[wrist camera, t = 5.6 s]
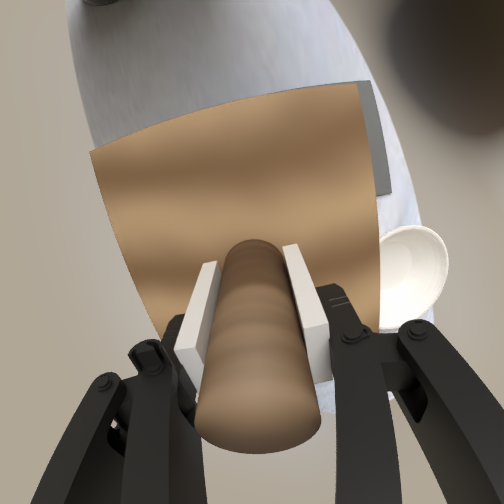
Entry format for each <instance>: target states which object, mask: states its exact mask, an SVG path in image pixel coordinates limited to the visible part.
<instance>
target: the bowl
mask: <svg viewBox="0 0 504 504" xmlns="http://www.w3.org/2000/svg"><path fill="white" fill-rule="evenodd" d="M379 244H380V322H379V329H382V330H390V329H396V328H400V327H401V325H402V324H404V323H405V322H407V321H409V320H414V319H418V318H420V317H421V316H422V315H423V314H425V313H426V312H427V311H428V310H429V309H430V307H431V306H432V305H433V304H434V303H435V301H436V300H437V298H438V297H439V295H440V293H441V291H442V289H443V287H444V285H445V282H446V279H447V274H448V267H449V258H448V253H447V249H446V246H445V244H444V242H443V240H442V239H441V238H440V236H439V235H438V234H437V233H435V232H434V231H433V230H431V229H429V228H426V227H424V226H417V225H408V226H401V227H397V228H395V229H392V230H389V231H388V232H386V233H384V234H383V235H381V236H380V237H379Z"/></svg>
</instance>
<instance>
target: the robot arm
mask: <svg viewBox="0 0 504 504" xmlns="http://www.w3.org/2000/svg"><path fill="white" fill-rule="evenodd" d="M84 1H85V2H87V3H88V4H91V5H96V6H99V5H106V4H110V3H113V2H115V1H118V0H84ZM282 248H283V253H284V258H285V263H286V268H287V273H288V277H289V281H290V285H291V289H292V293H293V297H294V301H295V305H296V309H297V313H298V317H299V322H300V326H301V330H302V334H303V338H304V343H305V347H306V351H307V356H308V360H309V364H310V369H311V373H312V378H313V382H314V384H317V383H322V382H326V381H330V380H333V377H334V381H335V403H336V445H337V446H336V447H337V449H336V451H337V452H336V494H335V504H402V494H401V482H400V472H399V462H398V454H397V446H396V439H395V433H394V426H393V420H392V415H391V409H390V404H389V398H388V393H387V392H388V391H392V393H393V395H394V397H395V399H396V401H397V402H398V404H399V406H400V408H401V410H402V412H403V413H404V415H405V417H406V419H407V421H408V423H409V425H410V427H411V429H412V431H413V433H414V434H415V436H416V438H417V440H418V442H419V444H420V446H421V448H422V450H423V452H424V454H425V456H426V458H427V460H428V462H429V464H430V467H431V469H432V471H433V473H434V475H435V477H436V479H437V481H438V484H439V486H440V488H441V490H442V492H443V495H444V497H445V499H446V501H447V504H504V409H503V408H502V407H501V405H500V404H499V403H498V401H497V400H496V398H495V397H494V396H493V394H492V393H491V392H490V391H489V389H488V388H487V387H486V385H485V384H484V383H483V382H482V380H481V379H480V378H479V377H478V375H477V374H476V373H475V372H474V370H473V369H472V368H471V367H470V366H469V364H468V363H467V362H466V361H465V360H464V358H463V357H462V356H461V355H460V354H459V353H458V351H456V349H455V348H454V347H453V346H452V345H451V344H450V342H449V341H448V340H447V339H446V338H445V337H444V336H443V335H442V334H441V332H440V331H439V330H438V329H437V328H436V327H435V326H434V325H433V324H432V323H430V322H429V321H426V320H423V319H414V320H409V321H407V322H405V323H404V324H402V325H401V327H400V328H399V331H398V333H387V334H382V333H375V332H372V330H371V328H369V327H368V326H366V325H364V324H362V323H361V321H360V319H359V317H358V315H357V313H356V311H355V309H354V308H353V306H352V304H351V302H350V300H349V298H348V297H347V295H346V293H345V291H344V289H343V288H342V287H340V286H339V285H337V284H335V283H332V284H328V285H324V286H319V287H314V284H313V282H312V279H311V277H310V274H309V272H308V269H307V267H306V264H305V262H304V259H303V257H302V255H301V252H300V250H299V247H298V245H297V244H292V245H287V246H283V247H282ZM221 276H222V275H221V271H220V268H219V265H218V262H217V261H212V262H208V263H203V265H202V268H201V271H200V274H199V276H198V279H197V282H196V285H195V288H194V291H193V293H192V296H191V299H190V302H189V305H188V308H187V311H186V313H185V314H179V315H175V316H174V317H173V318H172V319H171V320H170V321H169V322H168V325H167V327H166V330H165V331H166V332H164V335H163V338H162V340H161V342H160V341H159V340H156V339H148V340H144V341H142V342H140V343H138V344H136V345H135V346H134V347H133V348H132V349H131V350H130V351H129V354H128V356H129V358H130V360H131V361H132V363H133V364H134V366H135V367H136V369H137V371H138V375H137V376H134V377H130V378H127V379H124V380H121V378H120V377H119V376H118V375H117V374H116V373H113V372H107V373H104V374H102V375H100V376H98V377H97V378H96V379H95V380H94V381H93V383H92V384H91V386H90V388H89V389H88V391H87V393H86V394H85V396H84V398H83V399H82V401H81V403H80V405H79V407H78V408H77V410H76V412H75V414H74V415H73V417H72V419H71V421H70V423H69V425H68V427H67V428H66V430H65V432H64V434H63V436H62V438H61V440H60V442H59V444H58V446H57V448H56V450H55V451H54V454H53V456H52V457H51V459H50V462H49V464H48V466H47V468H46V470H45V472H44V474H43V476H42V478H41V481H40V483H39V485H38V487H37V490H36V492H35V494H34V497H33V499H32V501H31V504H207V496H206V487H205V477H204V466H203V455H202V442H201V436H200V435H199V434H198V432H197V431H196V428H195V424H194V421H195V415H196V409H197V403H196V401H195V398H196V393H198V394H199V391H200V386H201V380H202V374H203V369H204V363H205V358H206V353H207V347H208V342H209V337H210V331H211V326H212V321H213V316H214V311H215V306H216V301H217V295H218V291H219V286H220V281H221ZM332 374H333V376H332ZM113 419H114V420H115V421H116V422H117V426H116V427H115V428H112V426H111V423H112V421H113Z"/></svg>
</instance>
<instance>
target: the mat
mask: <svg viewBox="0 0 504 504" xmlns="http://www.w3.org/2000/svg"><path fill="white" fill-rule="evenodd" d="M341 84H356V85H357V89H358V93H359V97H360V101H361V106H362V110H363V115H364V120H365V125H366V130H367V136H368V142H369V148H370V154H371V160H372V167H373V175H374V183H375V192H376V196H378V195H383V194H388V193H392V189H391V181H390V174H389V167H388V160H387V154H386V148H385V142H384V137H383V132H382V127H381V122H380V117H379V113H378V109H377V104H376V100H375V96H374V92H373V89H372V85H371V81H370V80H367V81H353V82H342V83H333V84H324V85H317V86H310V87H303V88H311V87H320V86H330V85H341ZM303 88H297V89H303ZM291 90H296V89H291ZM286 91H290V90H286ZM280 92H283V91H280ZM275 93H277V92H275ZM270 94H272V93H270Z"/></svg>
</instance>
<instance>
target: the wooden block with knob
mask: <svg viewBox="0 0 504 504" xmlns="http://www.w3.org/2000/svg"><path fill="white" fill-rule="evenodd" d="M90 156H91V160H92V164H93V167H94V171H95V175H96V178H97V182H98V185H99V188H100V191H101V195H102V198H103V201H104V204H105V207H106V210H107V213H108V216H109V219H110V222H111V225H112V228H113V231H114V233H115V236H116V239H117V242H118V244H119V247H120V250H121V252H122V255H123V257H124V260H125V262H126V265H127V267H128V269H129V272H130V275H131V277H132V279H133V281H134V284H135V286H136V289H137V291H138V293H139V295H140V297H141V300H142V302H143V304H144V306H145V308H146V310H147V313H148V315H149V317H150V319H151V321H152V323H153V325H154V327H155V329H156V331H157V333H158V335H159V337H160V338H161V340H162V338H163V335H164V332H166V331H165V330H166V327H167V325H168V322H169V321H170V320H171V319H172V318H173V317H174V316H175V315H179V314H185V313H186V311H187V308H188V305H189V302H190V299H191V296H192V293H193V291H194V288H195V285H196V282H197V279H198V276H199V274H200V271H201V268H202V265H203V263H208V262H212V261H217V262H218V265H219V268H220V271H221V275H222V276H221V281H220V286H219V291H218V295H217V301H216V306H215V311H214V316H213V321H212V326H211V331H210V337H209V342H208V347H207V353H206V358H205V363H204V369H203V374H202V380H201V386H200V391H199V397H198V403H197V409H196V415H195V421H194V424H195V428H196V431H197V432H198V434H199V435H200V436H201V437H202V438H203V439H205V440H206V441H207V442H209V443H211V444H212V445H215V446H217V447H219V448H222V449H225V450H229V451H233V452H238V453H246V454H266V453H274V452H279V451H283V450H287V449H290V448H293V447H296V446H298V445H300V444H302V443H304V442H306V441H307V440H309V439H310V438H311V437H312V436H313V435H315V434H316V432H317V431H318V430H319V428H320V425H321V415H320V410H319V405H318V401H317V396H316V391H315V387H314V382H313V378H312V373H311V369H310V364H309V360H308V356H307V351H306V347H305V343H304V338H303V334H302V330H301V326H300V322H299V317H298V313H297V309H296V305H295V301H294V297H293V293H292V289H291V285H290V281H289V277H288V273H287V268H286V263H285V258H284V253H283V248H282V247H283V246H287V245H292V244H297V245H298V247H299V250H300V252H301V255H302V257H303V259H304V262H305V264H306V267H307V269H308V272H309V274H310V277H311V279H312V282H313V284H314V287H319V286H324V285H328V284H332V283H335V284H337V285H339V286H340V287H342V288H343V289H344V291H345V293H346V295H347V297H348V298H349V300H350V302H351V304H352V306H353V308H354V309H355V311H356V313H357V315H358V317H359V319H360V321H361V323H362V324H364V325H366V326H368V327H369V328H371V330H372V332H375V333H379V322H380V244H379V226H378V213H377V202H376V192H375V183H374V175H373V167H372V160H371V154H370V148H369V142H368V136H367V130H366V125H365V120H364V115H363V110H362V106H361V101H360V97H359V93H358V89H357V85H356V84H341V85H330V86H320V87H311V88H303V89H296V90H290V91H283V92H277V93H272V94H266V95H261V96H256V97H251V98H246V99H242V100H238V101H233V102H229V103H225V104H221V105H217V106H213V107H210V108H206V109H202V110H199V111H196V112H192V113H189V114H186V115H182V116H179V117H176V118H173V119H170V120H167V121H164V122H161V123H158V124H156V125H153V126H150V127H147V128H145V129H142V130H139V131H137V132H134V133H132V134H129V135H127V136H124V137H122V138H120V139H117V140H115V141H113V142H110V143H108V144H106V145H103V146H101V147H99V148H97V149H95V150H93V151H91V152H90Z"/></svg>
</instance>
